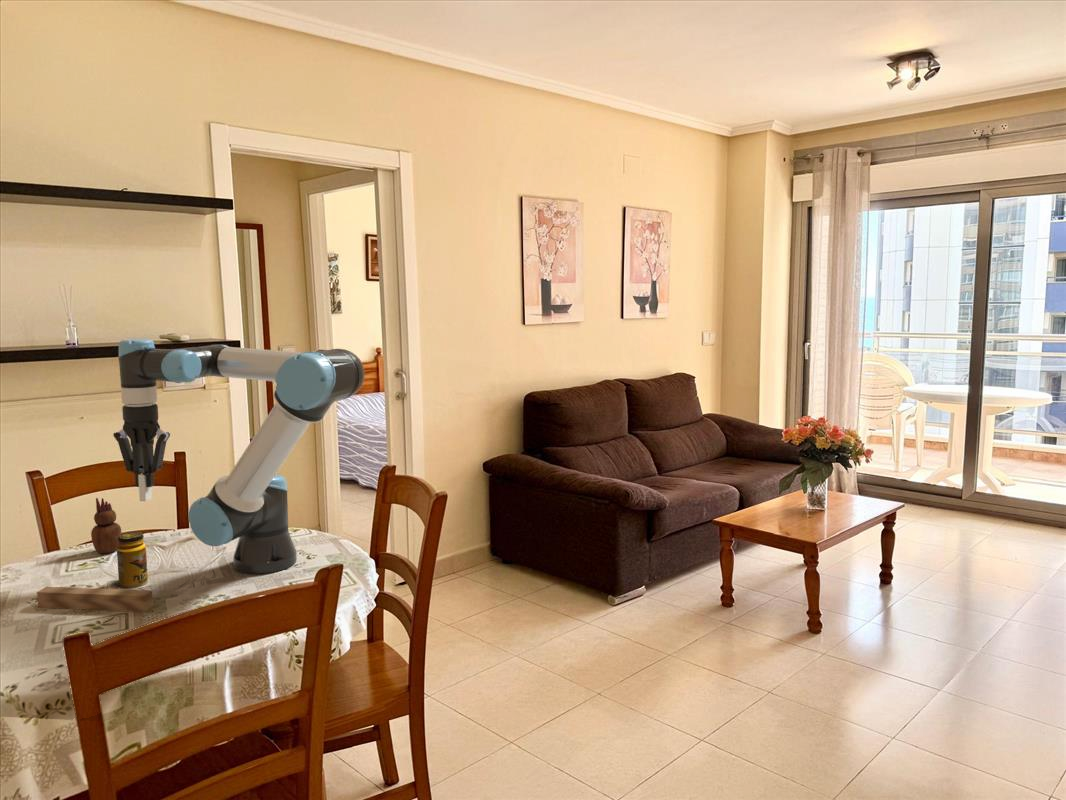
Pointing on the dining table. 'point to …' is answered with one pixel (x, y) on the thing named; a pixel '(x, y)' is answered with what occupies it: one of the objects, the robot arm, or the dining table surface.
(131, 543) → the condiment
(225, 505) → the robot arm
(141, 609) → the board
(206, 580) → the dining table surface
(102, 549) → the wooden figurine
